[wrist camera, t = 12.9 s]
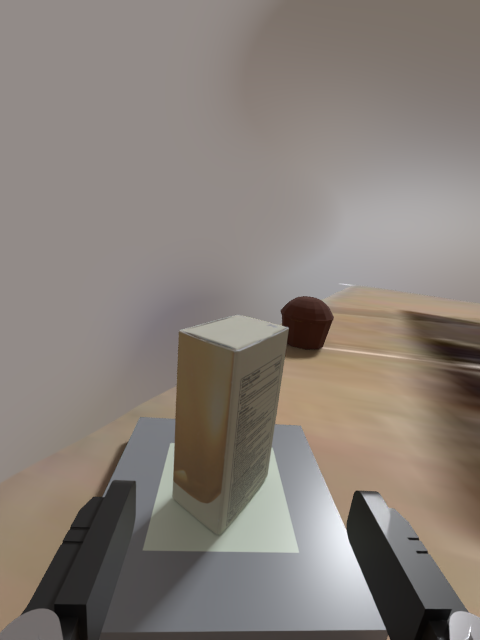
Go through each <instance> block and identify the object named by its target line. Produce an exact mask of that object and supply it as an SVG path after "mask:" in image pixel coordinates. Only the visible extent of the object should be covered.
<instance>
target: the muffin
mask: <svg viewBox="0 0 480 640" xmlns="http://www.w3.org/2000/svg"><path fill="white" fill-rule="evenodd" d="M281 314H282V326H284V327H288V328H289V331H288V338H287V344H289V345H291V346H292V347H297V348H302V349H319V348H321V347H323V345H324V342H325V339H326V337H327V334H328V331H329V329H330V326H331V323H332V321H333V318H334V317H333V315H332V313H331V311H330V309H329V307H328V306H327V305H326V304H325V303H324V302H323V301H321V300H319V299H317V298H314V297H307V296H303V297H297V298H295V299H293V300H291V301H290V302H289V303H287V304H286V305H285V306H284V307H283V309H282V310H281Z"/></svg>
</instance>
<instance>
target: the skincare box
mask: <svg viewBox="0 0 480 640" xmlns="http://www.w3.org/2000/svg"><path fill="white" fill-rule="evenodd" d="M288 331H289V328H288V327H284V326H280V325H276V324H273V323H269V322H265V321H261V320H258V319H254V318H250V317H245V316H242V315H234V316H230V317H226V318H222V319H219V320H215V321H211V322H207V323H204V324H201V325H197V326H193V327H190V328H186V329H182V330H179V345H178V346H179V347H178V369H177V395H176V419H175V445H174V470H173V492H172V497H173V499H174V500H175V501H177V502H178V503H179V504H180V505H181V506H182V507H183V508H185V509H186V510H187V511H188V512H189V513H190V514H192V515H193V516H194V517H195V518H196V519H198V520H199V521H200V522H201V523H203V524H204V525H205V526H207V527H208V528H209V529H210V530H212V531H213V532H214V533H215V534H217V535H220V534H222V533H223V532H224V530H225V529H226V528H227V527H228V526H229V525H230V524H231V522H232V521H233V520H234V519H235V518H236V516H237V515H238V514H239V513H240V511H241V510H242V509H243V508H244V506H245V505H246V504H247V503H248V501H249V500H250V499H251V497H252V496H253V495H254V494H255V492H256V491H257V490H258V488H259V487H260V486H261V484H262V483H263V481H264V480H265V479H266V477H267V475H268V469H269V462H270V455H271V448H272V441H273V434H274V427H275V420H276V414H277V407H278V400H279V393H280V386H281V380H282V373H283V366H284V359H285V352H286V345H287V338H288Z"/></svg>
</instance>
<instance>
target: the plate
mask: <svg viewBox="0 0 480 640" xmlns="http://www.w3.org/2000/svg"><path fill="white" fill-rule="evenodd" d="M174 445H175V419H166V418H147V417H140V418H139V420H138V423H137V425H136V427H135V429H134V431H133V433H132V435H131V437H130V439H129V442H128V444H127V446H126V448H125V450H124V452H123V454H122V456H121V458H120V461H119V463H118V465H117V467H116V469H115V471H114V473H113V475H112V478H111V480H110V482H109V484H108V486H107V488H106V490H105V492H104V494H103V497H105V495H106V493H107V491H108V489H109V487H110V485H111V483H112V481H113V480H129V481H136V517H135V524H134V529H133V533H132V537H131V540H130V543H129V546H128V550H127V553H126V556H125V559H124V562H123V565H122V568H121V572H120V575H119V578H118V581H117V584H116V587H115V591H114V594H113V597H112V600H111V603H110V606H109V610H108V613H107V616H106V619H105V622H104V625H103V628H102V632H101V635H100V638H99V640H386V639H387V636H388V633H387V630H386V628H385V626H384V623H383V621H382V618H381V616H380V614H379V611H378V609H377V607H376V604H375V602H374V600H373V597H372V595H371V592H370V590H369V588H368V585H367V583H366V581H365V578H364V576H363V574H362V571H361V569H360V566H359V564H358V562H357V559H356V557H355V555H354V552H353V550H352V547H351V545H350V543H349V539H348V535H347V531H346V529H345V526H344V524H343V522H342V519H341V517H340V515H339V513H338V510H337V508H336V506H335V503H334V501H333V499H332V497H331V494H330V492H329V490H328V487H327V485H326V483H325V481H324V478H323V476H322V474H321V471H320V469H319V467H318V464H317V462H316V460H315V458H314V455H313V453H312V451H311V448H310V446H309V444H308V442H307V439H306V437H305V435H304V432H303V430H302V428H301V426H295V425H277V424H275V427H274V434H273V441H272V448H271V455H270V462H269V469H268V475H267V477H266V479H265V480H264V481H263V483H262V484H261V486H260V487H259V488H258V490H257V491H256V492H255V494H254V495H253V496H252V497H251V499H250V500H249V501H248V503H247V504H246V505H245V506H244V508H243V509H242V510H241V511H240V513H239V514H238V515H237V516H236V518H235V519H234V520H233V521H232V522H231V524H230V525H229V526H228V527H227V528H226V529H225V530H224V532H223V533H222V534H220V535H217V534H215V533H214V532H213V531H212V530H210V529H209V528H208V527H207V526H205V525H204V524H203V523H201V522H200V521H199V520H198V519H196V518H195V517H194V516H193V515H192V514H190V513H189V512H188V511H187V510H186V509H185V508H183V507H182V506H181V505H180V504H179V503H178V502H177V501H175V500H174V499H173V497H172V492H173V470H174Z"/></svg>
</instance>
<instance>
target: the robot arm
mask: <svg viewBox="0 0 480 640" xmlns="http://www.w3.org/2000/svg"><path fill="white" fill-rule="evenodd" d="M135 517H136V481H129V480H113V481H112V483H111V485H110V487H109V489H108V491H107V493H106V495H105V497H93V498H92V499H91V500H90V501H89V502H88V503H87V504H86V505H85V506H84V507H82V508H81V509H80V510H79V512H78V514H77V516H76V518H75V520H74V521H73V523H72V525H71V527H70V530H69V531H68V532H67V534H66V536H65V538H64V540H63V543H62V545H60V547H59V549H58V551H57V553H56V555H55V556H54V558H53V560H52V562H51V564H50V566H49V567H48V569H47V571H46V573H45V575H44V577H43V578H42V580H41V582H40V584H39V586H38V588H37V589H36V591H35V593H34V595H33V597H32V599H31V600H30V602H29V604H28V605H27V607H26V609H25V610H24V611H23V613H22V614H21V615H20V616H19V617H18V618H16V619H15V620H13V621H12V622H11V623H10V624H9V625H7V626H6V627H5V628H4V629H3V630H2V631H1V633H0V640H99V638H100V635H101V632H102V628H103V625H104V622H105V619H106V616H107V613H108V610H109V606H110V603H111V600H112V597H113V594H114V591H115V587H116V584H117V581H118V578H119V575H120V572H121V568H122V565H123V562H124V559H125V556H126V553H127V550H128V546H129V543H130V540H131V537H132V533H133V529H134V524H135ZM347 535H348V539H349V543H350V545H351V547H352V550H353V552H354V555H355V557H356V559H357V562H358V564H359V566H360V569H361V571H362V574H363V576H364V578H365V581H366V583H367V585H368V588H369V590H370V592H371V595H372V597H373V600H374V602H375V604H376V607H377V609H378V611H379V614H380V616H381V618H382V621H383V623H384V626H385V628H386V630H387V633H388V635H389V637H390V640H480V618H479V617H477V616H475V615H473V614H471V613H469V612H468V611H467V609H466V608H465V606H464V605H463V603H462V602H461V600H460V599H459V597H458V596H457V594H456V593H455V591H454V590H453V588H452V587H451V585H450V584H449V582H448V581H447V579H446V578H445V576H444V575H443V573H442V572H441V570H440V569H439V567H438V566H437V564H436V563H435V561H434V560H433V558H432V557H431V555H429V554H428V551H427V549H426V548H425V546H424V545H423V543H422V542H421V541H419V537H418V536H417V534H416V533H415V531H414V530H413V528H412V527H411V525H410V524H409V522H408V521H407V520H406V519H405V518H403V517H402V516H401V515H400V514H399V513H398V512H397V511H396V510H395V509H393V508H388V506H387V504H386V503H385V501H384V500H383V498H382V496H381V495H380V494H379V493H378V492H376V491H355V493H354V495H353V499H352V503H351V507H350V512H349V516H348V520H347Z"/></svg>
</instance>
